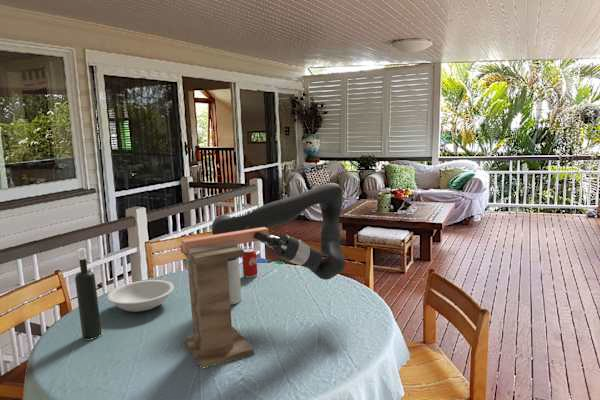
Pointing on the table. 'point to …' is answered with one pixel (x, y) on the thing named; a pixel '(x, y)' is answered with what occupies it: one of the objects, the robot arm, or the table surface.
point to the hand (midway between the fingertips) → (250, 231)
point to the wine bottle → (87, 299)
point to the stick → (223, 238)
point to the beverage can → (249, 263)
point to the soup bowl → (140, 295)
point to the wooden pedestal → (213, 305)
